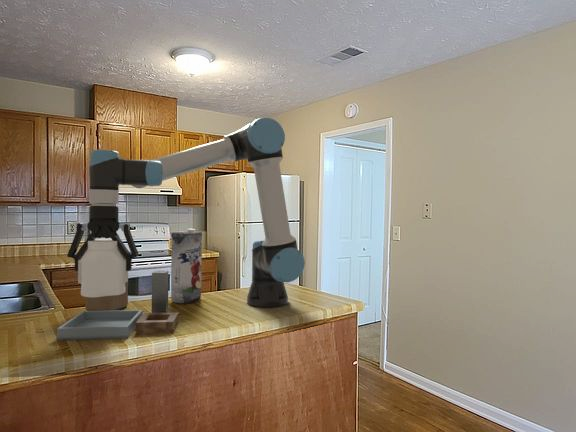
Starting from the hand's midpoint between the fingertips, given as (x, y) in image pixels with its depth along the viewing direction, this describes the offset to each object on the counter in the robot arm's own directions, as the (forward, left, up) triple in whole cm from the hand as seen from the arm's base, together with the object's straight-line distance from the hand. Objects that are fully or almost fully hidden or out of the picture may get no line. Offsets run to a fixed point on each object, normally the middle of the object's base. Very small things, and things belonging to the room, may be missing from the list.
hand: (103, 282), depth 113 cm
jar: (0, 0, -3) cm, 3 cm away
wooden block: (+6, -23, -14) cm, 27 cm away
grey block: (-13, -14, -13) cm, 23 cm away
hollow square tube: (-15, 0, -13) cm, 20 cm away
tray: (0, 0, -13) cm, 13 cm away
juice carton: (-19, -33, -14) cm, 40 cm away
